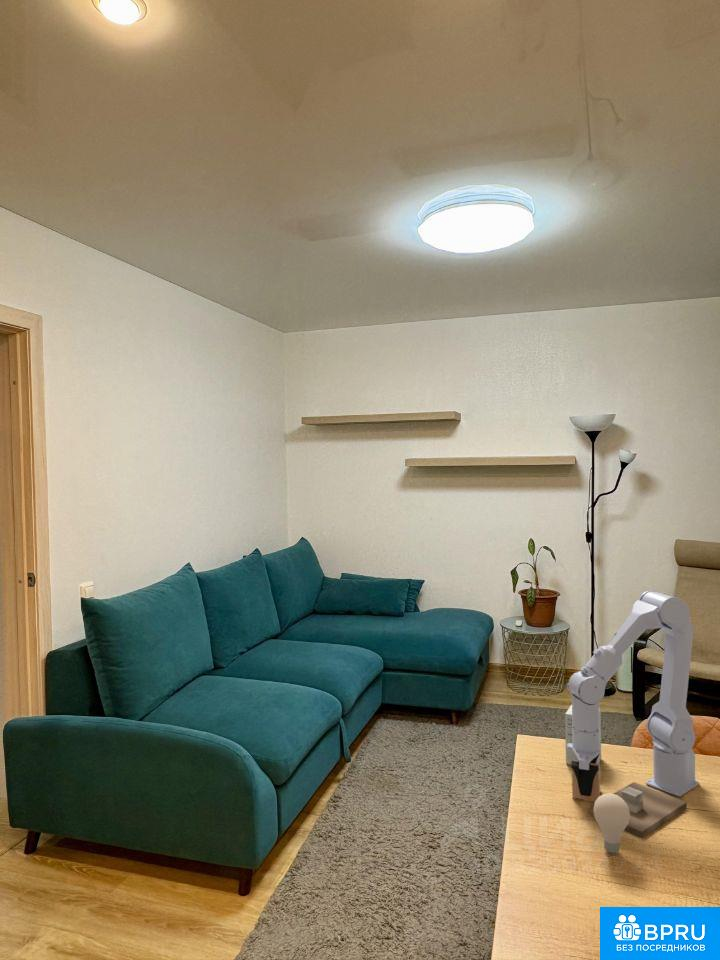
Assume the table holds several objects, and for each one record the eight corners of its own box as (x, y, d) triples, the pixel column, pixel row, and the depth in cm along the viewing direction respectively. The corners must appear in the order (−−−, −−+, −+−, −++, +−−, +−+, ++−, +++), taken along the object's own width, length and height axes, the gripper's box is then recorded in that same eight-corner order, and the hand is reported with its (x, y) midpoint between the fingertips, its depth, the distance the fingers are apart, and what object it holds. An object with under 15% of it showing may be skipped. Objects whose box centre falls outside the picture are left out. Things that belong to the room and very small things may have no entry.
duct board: (633, 787, 153) (633, 766, 152) (686, 807, 143) (686, 785, 143) (588, 813, 141) (587, 791, 141) (642, 837, 132) (641, 814, 132)
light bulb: (633, 864, 123) (633, 805, 123) (596, 860, 125) (595, 802, 124) (627, 844, 130) (626, 788, 130) (591, 841, 131) (590, 785, 131)
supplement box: (571, 752, 171) (571, 703, 171) (602, 758, 167) (601, 708, 167) (564, 764, 165) (564, 713, 165) (596, 770, 161) (595, 718, 161)
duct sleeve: (574, 786, 153) (574, 760, 153) (600, 790, 151) (600, 764, 151) (572, 797, 148) (572, 771, 148) (599, 802, 146) (598, 775, 146)
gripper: (569, 714, 158) (570, 771, 158) (564, 737, 144) (564, 800, 144) (601, 717, 155) (602, 775, 155) (598, 742, 142) (599, 805, 142)
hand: (586, 788), depth 150 cm, fingers open, 6 cm apart
